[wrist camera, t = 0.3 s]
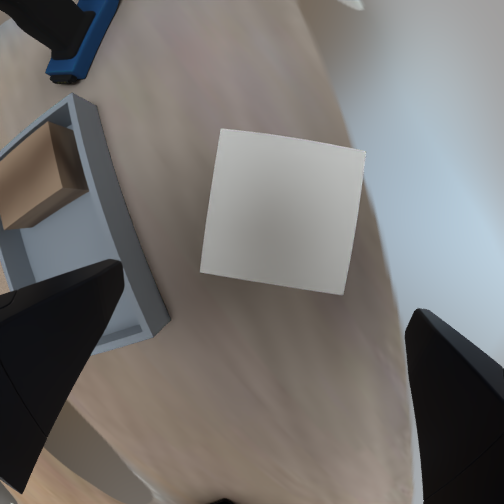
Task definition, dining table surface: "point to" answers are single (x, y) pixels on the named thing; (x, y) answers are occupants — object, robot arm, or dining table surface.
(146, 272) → the tote
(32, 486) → the dining table surface
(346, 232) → the carton
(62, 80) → the handheld scanner
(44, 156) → the walnut block
